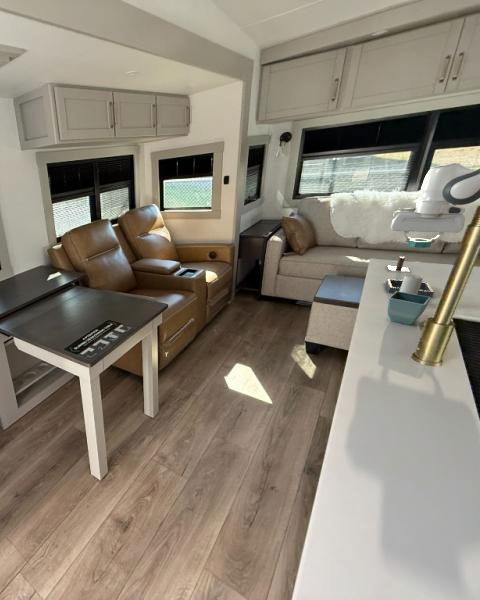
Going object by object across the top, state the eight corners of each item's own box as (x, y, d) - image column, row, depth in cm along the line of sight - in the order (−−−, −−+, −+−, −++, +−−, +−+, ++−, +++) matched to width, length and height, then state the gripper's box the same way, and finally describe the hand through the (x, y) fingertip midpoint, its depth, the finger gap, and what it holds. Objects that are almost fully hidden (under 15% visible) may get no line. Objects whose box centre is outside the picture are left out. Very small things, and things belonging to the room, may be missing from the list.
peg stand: (407, 269, 154) (411, 256, 151) (409, 273, 149) (414, 260, 146) (387, 267, 158) (391, 254, 155) (388, 271, 153) (392, 258, 150)
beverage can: (391, 304, 122) (401, 275, 117) (402, 303, 122) (412, 273, 118) (404, 309, 118) (415, 279, 113) (416, 307, 118) (427, 277, 113)
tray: (426, 288, 132) (428, 282, 131) (431, 298, 124) (433, 292, 123) (385, 284, 140) (387, 278, 139) (388, 293, 131) (389, 287, 130)
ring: (428, 244, 131) (430, 238, 131) (431, 248, 127) (433, 242, 126) (406, 243, 135) (408, 238, 134) (408, 247, 131) (410, 241, 130)
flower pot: (380, 320, 112) (388, 297, 108) (388, 313, 116) (396, 290, 112) (415, 329, 105) (424, 304, 101) (422, 320, 109) (431, 297, 106)
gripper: (395, 209, 129) (386, 242, 134) (471, 209, 117) (458, 245, 122) (394, 207, 134) (385, 239, 139) (467, 206, 121) (454, 242, 127)
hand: (419, 242), depth 130 cm, fingers closed on ring, 6 cm apart
